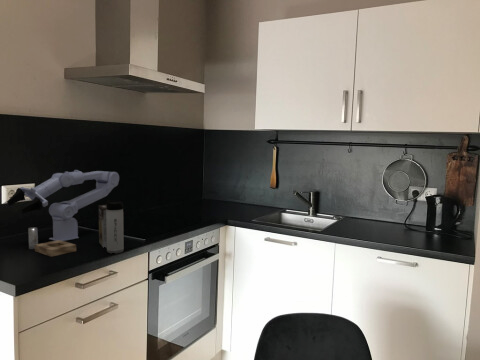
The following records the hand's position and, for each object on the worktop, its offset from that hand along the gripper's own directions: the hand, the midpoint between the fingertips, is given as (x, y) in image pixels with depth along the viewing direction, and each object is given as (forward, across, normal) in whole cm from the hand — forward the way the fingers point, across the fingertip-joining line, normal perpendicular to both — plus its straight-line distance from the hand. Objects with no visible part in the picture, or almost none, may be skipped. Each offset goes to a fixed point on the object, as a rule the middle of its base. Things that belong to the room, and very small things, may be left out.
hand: (14, 207), depth 154 cm
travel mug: (-10, +40, +8) cm, 42 cm away
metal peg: (+2, +10, +14) cm, 18 cm away
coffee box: (-16, +32, +15) cm, 38 cm away
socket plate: (+1, +20, +11) cm, 23 cm away
